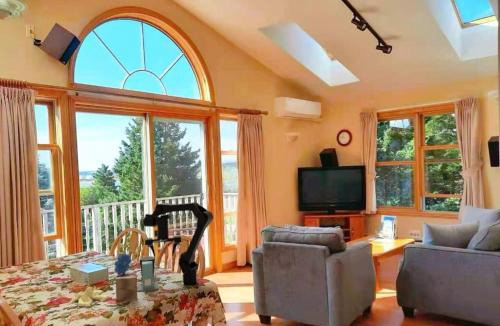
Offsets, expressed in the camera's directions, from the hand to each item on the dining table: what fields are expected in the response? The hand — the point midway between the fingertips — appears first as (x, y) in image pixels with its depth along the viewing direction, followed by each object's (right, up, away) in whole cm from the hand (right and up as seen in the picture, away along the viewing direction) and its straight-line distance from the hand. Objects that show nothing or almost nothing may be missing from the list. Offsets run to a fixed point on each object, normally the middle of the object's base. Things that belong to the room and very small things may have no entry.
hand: (163, 256), depth 206 cm
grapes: (-27, -14, +16) cm, 34 cm away
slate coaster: (-6, -13, -10) cm, 17 cm away
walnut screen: (-11, -14, -26) cm, 31 cm away
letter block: (-6, -13, -10) cm, 17 cm away
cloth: (-31, -15, -25) cm, 42 cm away
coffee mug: (-11, -13, +11) cm, 20 cm away
